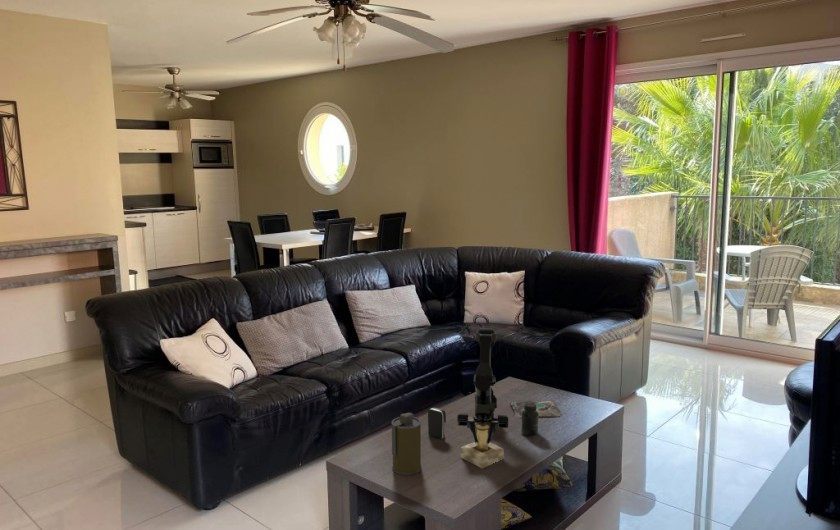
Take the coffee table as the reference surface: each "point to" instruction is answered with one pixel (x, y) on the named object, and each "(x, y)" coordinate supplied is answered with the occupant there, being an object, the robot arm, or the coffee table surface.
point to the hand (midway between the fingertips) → (482, 443)
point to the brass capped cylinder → (482, 436)
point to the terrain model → (542, 408)
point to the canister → (406, 444)
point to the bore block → (482, 454)
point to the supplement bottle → (529, 420)
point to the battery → (436, 422)
